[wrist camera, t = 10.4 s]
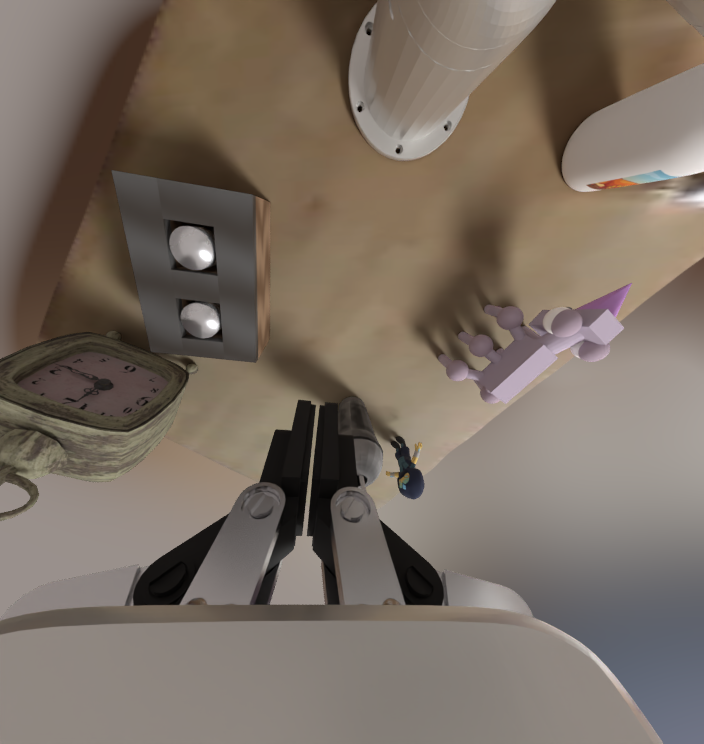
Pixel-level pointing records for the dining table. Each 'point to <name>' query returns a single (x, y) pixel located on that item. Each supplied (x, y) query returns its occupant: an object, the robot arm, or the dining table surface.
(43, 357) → the tabletop clock
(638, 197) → the dining table surface
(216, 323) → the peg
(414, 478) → the character figure
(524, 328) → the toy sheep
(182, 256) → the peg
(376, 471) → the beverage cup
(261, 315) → the peg block
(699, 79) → the milk bottle
